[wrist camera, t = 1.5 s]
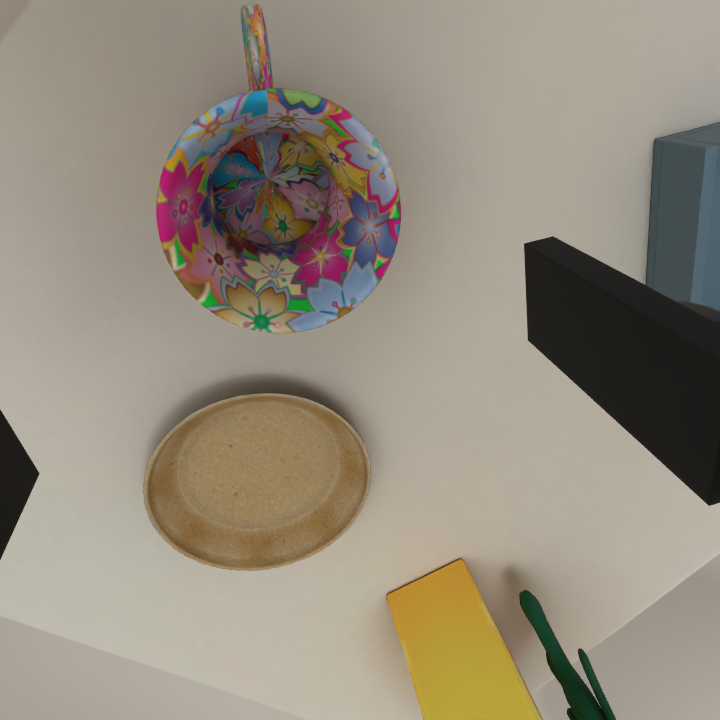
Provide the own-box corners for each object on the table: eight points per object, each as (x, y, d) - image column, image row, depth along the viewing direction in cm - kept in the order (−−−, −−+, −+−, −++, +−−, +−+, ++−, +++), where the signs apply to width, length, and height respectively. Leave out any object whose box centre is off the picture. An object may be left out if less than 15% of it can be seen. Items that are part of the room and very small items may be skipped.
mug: (356, 248, 34) (405, 316, 24) (197, 269, 32) (186, 350, 23) (338, 13, 28) (394, -14, 19) (144, 26, 27) (101, 5, 17)
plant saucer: (312, 560, 45) (317, 586, 42) (119, 523, 39) (113, 551, 37) (397, 409, 40) (408, 430, 37) (190, 343, 34) (188, 362, 32)
